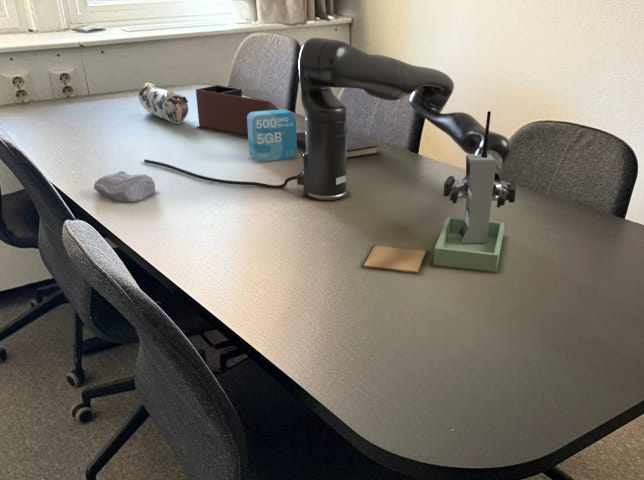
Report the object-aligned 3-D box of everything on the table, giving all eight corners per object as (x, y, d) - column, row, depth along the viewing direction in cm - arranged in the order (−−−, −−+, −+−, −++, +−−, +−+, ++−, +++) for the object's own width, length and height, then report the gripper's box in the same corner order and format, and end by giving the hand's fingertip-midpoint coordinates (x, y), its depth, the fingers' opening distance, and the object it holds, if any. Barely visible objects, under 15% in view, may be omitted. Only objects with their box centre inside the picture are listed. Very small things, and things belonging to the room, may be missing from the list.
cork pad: (363, 267, 129) (363, 265, 129) (375, 247, 138) (375, 245, 137) (417, 273, 127) (417, 271, 127) (426, 252, 136) (426, 250, 136)
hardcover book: (333, 135, 211) (333, 127, 210) (378, 153, 195) (378, 145, 194) (286, 142, 203) (286, 134, 202) (329, 161, 188) (329, 153, 186)
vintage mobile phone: (458, 237, 142) (470, 108, 129) (482, 237, 143) (497, 108, 130) (461, 244, 139) (474, 113, 126) (486, 244, 139) (502, 113, 126)
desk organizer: (220, 121, 223) (217, 84, 217) (294, 136, 210) (293, 96, 204) (196, 128, 215) (192, 89, 210) (271, 143, 202) (270, 102, 197)
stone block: (132, 211, 156) (160, 190, 163) (125, 192, 153) (154, 171, 160) (92, 204, 161) (120, 184, 167) (84, 185, 157) (113, 165, 164)
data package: (255, 162, 185) (252, 115, 179) (249, 158, 188) (246, 112, 182) (297, 158, 190) (296, 111, 184) (291, 153, 193) (289, 108, 187)
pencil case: (192, 122, 221) (188, 89, 216) (166, 126, 217) (162, 92, 212) (163, 109, 236) (159, 78, 231) (138, 112, 232) (134, 81, 226)
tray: (433, 264, 131) (434, 248, 129) (446, 231, 146) (447, 216, 144) (496, 272, 129) (498, 255, 127) (502, 237, 144) (504, 222, 142)
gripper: (515, 197, 150) (511, 222, 137) (449, 190, 153) (438, 215, 139) (520, 161, 146) (516, 184, 133) (452, 155, 149) (441, 178, 135)
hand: (476, 200), depth 136 cm, fingers open, 8 cm apart
